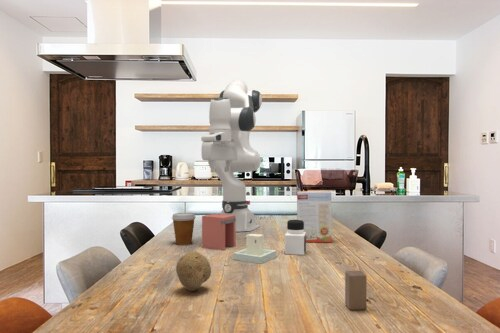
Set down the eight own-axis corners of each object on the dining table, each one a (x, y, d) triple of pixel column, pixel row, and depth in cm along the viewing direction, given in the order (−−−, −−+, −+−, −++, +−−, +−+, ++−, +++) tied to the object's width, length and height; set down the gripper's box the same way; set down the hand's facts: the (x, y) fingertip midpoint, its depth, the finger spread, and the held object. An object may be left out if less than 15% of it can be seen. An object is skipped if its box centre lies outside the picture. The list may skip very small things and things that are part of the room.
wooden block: (361, 304, 96) (361, 270, 96) (366, 310, 92) (367, 275, 92) (344, 304, 96) (344, 270, 96) (349, 310, 92) (349, 275, 92)
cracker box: (330, 240, 173) (330, 190, 173) (331, 243, 167) (331, 191, 167) (296, 239, 175) (297, 190, 174) (297, 242, 169) (297, 191, 168)
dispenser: (215, 243, 167) (215, 213, 166) (235, 246, 161) (235, 215, 161) (201, 247, 159) (201, 216, 159) (223, 250, 154) (223, 217, 154)
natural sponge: (195, 282, 113) (195, 246, 113) (218, 289, 108) (218, 251, 108) (169, 290, 106) (169, 252, 106) (192, 298, 101) (192, 257, 101)
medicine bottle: (304, 255, 146) (304, 221, 146) (284, 254, 147) (284, 221, 147) (305, 250, 153) (306, 218, 153) (286, 250, 154) (286, 218, 154)
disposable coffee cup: (183, 246, 160) (183, 216, 160) (167, 243, 166) (166, 214, 166) (200, 243, 168) (200, 213, 167) (184, 240, 173) (184, 212, 173)
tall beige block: (251, 253, 144) (251, 233, 144) (263, 255, 142) (263, 234, 142) (246, 255, 141) (246, 235, 141) (258, 257, 139) (258, 236, 139)
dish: (249, 253, 149) (249, 247, 149) (276, 256, 143) (276, 250, 143) (233, 259, 140) (233, 253, 140) (261, 263, 134) (261, 257, 134)
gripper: (228, 138, 174) (228, 171, 175) (198, 136, 157) (198, 172, 157) (240, 138, 171) (240, 171, 171) (211, 136, 154) (212, 172, 154)
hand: (220, 172), depth 164 cm, fingers open, 8 cm apart
